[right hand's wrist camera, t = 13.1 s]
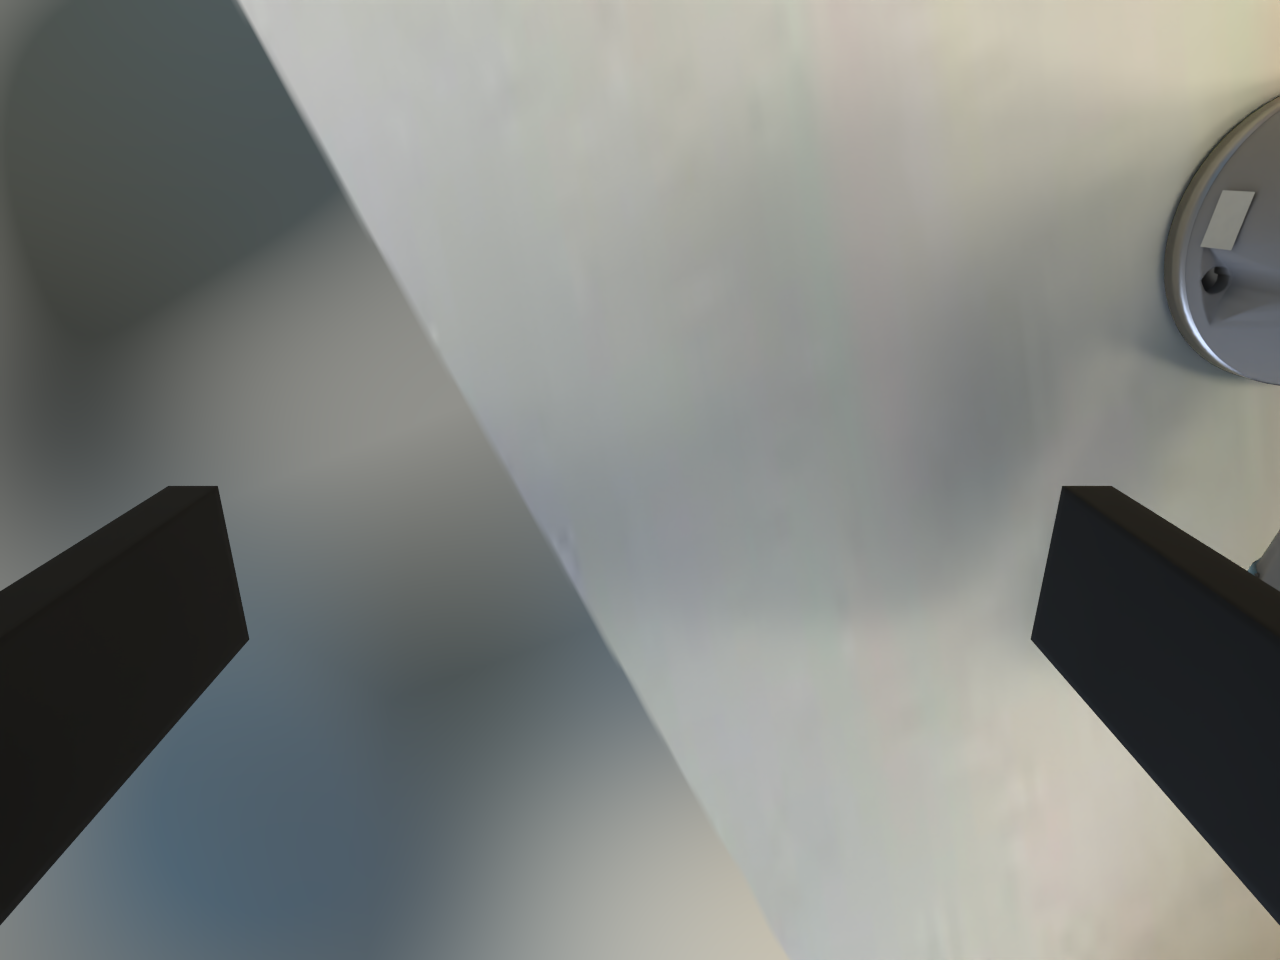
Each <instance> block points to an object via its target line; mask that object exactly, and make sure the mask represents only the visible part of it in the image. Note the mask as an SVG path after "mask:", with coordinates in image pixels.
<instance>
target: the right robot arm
mask: <svg viewBox="0 0 1280 960" xmlns="http://www.w3.org/2000/svg"><path fill="white" fill-rule="evenodd" d="M1164 282H1165V290H1166V297H1167V301H1168V305H1169V309H1170V311H1171V314H1172V317H1173V319H1174V321H1175V323H1176V325H1177V328H1178V330H1179V331H1180V333H1181V334H1182V336H1183V337H1184V339H1185V340H1186V341H1187V342H1188V344H1189V345H1190V346H1191V347H1192V348H1193V349H1194V350H1195V351H1196V352H1197V353H1198V354H1199V355H1200V356H1201V357H1203V358H1204V359H1206V360H1207V361H1208V362H1210V363H1211V364H1213V365H1215V366H1217V367H1219V368H1221V369H1223V370H1225V371H1228V372H1230V373H1233V374H1236V375H1239V376H1242V377H1246V378H1249V379H1252V380H1255V381H1259V382H1263V383H1267V384H1273V385H1280V96H1279V97H1278V98H1276V99H1274V100H1272V101H1271V102H1269V103H1267V104H1266V105H1264V106H1263V107H1261V108H1260V109H1258V110H1257V111H1255V112H1254V113H1252V114H1251V115H1250V116H1249V117H1247V118H1246V119H1245V120H1244V121H1242V122H1241V123H1240V124H1239V125H1237V126H1236V127H1235V128H1234V129H1233V130H1232V131H1231V132H1230V133H1229V134H1228V135H1227V136H1226V137H1225V138H1224V139H1223V140H1222V141H1221V142H1220V143H1219V144H1218V145H1217V146H1216V148H1215V149H1214V150H1213V151H1212V152H1211V153H1210V155H1209V156H1208V157H1207V159H1206V160H1205V161H1204V162H1203V164H1202V165H1201V167H1200V168H1199V170H1198V171H1197V173H1196V174H1195V176H1194V177H1193V179H1192V180H1191V182H1190V184H1189V186H1188V187H1187V189H1186V191H1185V193H1184V195H1183V197H1182V199H1181V201H1180V204H1179V206H1178V208H1177V211H1176V213H1175V216H1174V219H1173V222H1172V225H1171V228H1170V232H1169V236H1168V240H1167V246H1166V252H1165V263H1164ZM248 640H249V636H248V631H247V626H246V621H245V616H244V611H243V607H242V602H241V597H240V592H239V587H238V582H237V577H236V573H235V568H234V563H233V558H232V553H231V548H230V544H229V539H228V534H227V529H226V524H225V519H224V514H223V509H222V505H221V500H220V495H219V490H218V486H168V487H166V488H165V489H163V490H161V491H160V492H158V493H157V494H155V495H153V496H152V497H150V498H149V499H147V500H145V501H144V502H142V503H141V504H139V505H137V506H136V507H134V508H133V509H131V510H130V511H128V512H126V513H125V514H123V515H121V516H120V517H118V518H117V519H115V520H113V521H112V522H110V523H109V524H107V525H105V526H104V527H102V528H101V529H99V530H97V531H96V532H94V533H93V534H91V535H90V536H88V537H86V538H85V539H83V540H82V541H80V542H78V543H77V544H75V545H74V546H72V547H70V548H69V549H67V550H66V551H64V552H62V553H61V554H59V555H58V556H56V557H54V558H53V559H51V560H50V561H48V562H46V563H45V564H43V565H42V566H40V567H38V568H37V569H35V570H34V571H32V572H31V573H29V574H27V575H26V576H24V577H23V578H21V579H19V580H18V581H16V582H14V583H13V584H11V585H10V586H8V587H7V588H5V589H3V590H2V591H0V925H1V924H2V923H3V922H4V920H5V919H6V918H7V917H8V916H9V915H10V913H11V912H12V911H13V910H14V909H15V908H16V906H17V905H18V904H19V903H20V902H21V901H22V900H23V898H24V897H25V896H26V895H27V894H28V893H29V892H30V890H31V889H32V888H33V887H34V886H35V885H36V884H37V882H38V881H39V880H40V879H41V878H42V877H43V876H44V874H45V873H46V872H47V871H48V870H49V869H50V868H51V866H52V865H53V864H54V863H55V862H56V861H57V859H58V858H59V857H60V856H61V855H62V854H63V853H64V851H65V850H66V849H67V848H68V847H69V846H70V845H71V843H72V842H73V841H74V840H75V839H76V838H77V837H78V835H79V834H80V833H81V832H82V831H83V830H84V828H85V827H86V826H87V825H88V824H89V823H90V822H91V820H92V819H93V818H94V817H95V816H96V815H97V814H98V812H99V811H100V810H101V809H102V808H103V807H104V806H105V804H106V803H107V802H108V801H109V800H110V799H111V797H112V796H113V795H114V794H115V793H116V792H117V791H118V789H119V788H120V787H121V786H122V785H123V784H124V783H125V781H126V780H127V779H128V778H129V777H130V776H131V774H132V773H133V772H134V771H135V770H136V769H137V768H138V766H139V765H140V764H141V763H142V762H143V761H144V760H145V758H146V757H147V756H148V755H149V754H150V753H151V751H152V750H153V749H154V748H155V747H156V746H157V745H158V744H159V742H160V741H161V740H162V739H163V738H164V737H165V735H166V734H167V733H168V732H169V731H170V730H171V729H172V727H173V726H174V725H175V724H176V723H177V722H178V720H179V719H180V718H181V717H182V716H183V715H184V714H185V713H186V711H187V710H188V709H189V708H190V707H191V706H192V704H193V703H194V702H195V701H196V700H197V699H198V698H199V696H200V695H201V694H202V693H203V692H204V691H205V690H206V688H207V687H208V686H209V685H210V684H211V683H212V682H213V680H214V679H215V678H216V677H217V676H218V675H219V673H220V672H221V671H222V670H223V669H224V668H225V667H226V665H227V664H228V663H229V662H230V661H231V660H232V659H233V657H234V656H235V655H236V654H237V653H238V652H239V651H240V649H241V648H242V647H243V646H244V645H245V644H246V642H247V641H248ZM1031 640H1032V641H1033V642H1034V644H1035V645H1036V646H1037V647H1038V648H1039V649H1040V651H1041V652H1042V653H1043V654H1044V655H1045V656H1046V657H1047V659H1048V660H1049V661H1050V662H1051V663H1052V664H1053V665H1054V667H1055V668H1056V669H1057V670H1058V671H1059V672H1060V673H1061V675H1062V676H1063V677H1064V678H1065V679H1066V680H1067V682H1068V683H1069V684H1070V685H1071V686H1072V687H1073V688H1074V690H1075V691H1076V692H1077V693H1078V694H1079V695H1080V696H1081V698H1082V699H1083V700H1084V701H1085V702H1086V703H1087V704H1088V706H1089V707H1090V708H1091V709H1092V710H1093V711H1094V713H1095V714H1096V715H1097V716H1098V717H1099V718H1100V719H1101V721H1102V722H1103V723H1104V724H1105V725H1106V726H1107V727H1108V729H1109V730H1110V731H1111V732H1112V733H1113V734H1114V735H1115V737H1116V738H1117V739H1118V740H1119V741H1120V742H1121V744H1122V745H1123V746H1124V747H1125V748H1126V749H1127V750H1128V752H1129V753H1130V754H1131V755H1132V756H1133V757H1134V758H1135V760H1136V761H1137V762H1138V763H1139V764H1140V765H1141V766H1142V768H1143V769H1144V770H1145V771H1146V772H1147V773H1148V775H1149V776H1150V777H1151V778H1152V779H1153V780H1154V781H1155V783H1156V784H1157V785H1158V786H1159V787H1160V788H1161V789H1162V791H1163V792H1164V793H1165V794H1166V795H1167V796H1168V797H1169V799H1170V800H1171V801H1172V802H1173V803H1174V804H1175V806H1176V807H1177V808H1178V809H1179V810H1180V811H1181V812H1182V814H1183V815H1184V816H1185V817H1186V818H1187V819H1188V820H1189V822H1190V823H1191V824H1192V825H1193V826H1194V827H1195V828H1196V830H1197V831H1198V832H1199V833H1200V834H1201V835H1202V837H1203V838H1204V839H1205V840H1206V841H1207V842H1208V843H1209V845H1210V846H1211V847H1212V848H1213V849H1214V850H1215V851H1216V853H1217V854H1218V855H1219V856H1220V857H1221V858H1222V859H1223V861H1224V862H1225V863H1226V864H1227V865H1228V866H1229V868H1230V869H1231V870H1232V871H1233V872H1234V873H1235V874H1236V876H1237V877H1238V878H1239V879H1240V880H1241V881H1242V882H1243V884H1244V885H1245V886H1246V887H1247V888H1248V889H1249V891H1250V892H1251V893H1252V894H1253V895H1254V896H1255V897H1256V899H1257V900H1258V901H1259V902H1260V903H1261V904H1262V905H1263V907H1264V908H1265V909H1266V910H1267V911H1268V912H1269V913H1270V915H1271V916H1272V917H1273V918H1274V919H1275V920H1276V922H1277V923H1278V924H1279V925H1280V530H1279V532H1278V533H1277V535H1276V536H1275V538H1274V539H1273V541H1272V542H1271V544H1270V545H1269V547H1268V548H1267V550H1266V551H1265V553H1264V554H1263V556H1262V557H1261V558H1260V559H1258V560H1257V561H1255V562H1253V563H1252V565H1251V566H1250V567H1249V569H1248V571H1246V570H1245V569H1243V568H1242V567H1240V566H1238V565H1237V564H1235V563H1234V562H1232V561H1230V560H1229V559H1227V558H1226V557H1224V556H1222V555H1221V554H1219V553H1218V552H1216V551H1214V550H1213V549H1211V548H1210V547H1208V546H1206V545H1205V544H1203V543H1202V542H1200V541H1198V540H1197V539H1195V538H1194V537H1192V536H1190V535H1189V534H1187V533H1186V532H1184V531H1183V530H1181V529H1179V528H1178V527H1176V526H1175V525H1173V524H1171V523H1170V522H1168V521H1167V520H1165V519H1163V518H1162V517H1160V516H1159V515H1157V514H1155V513H1154V512H1152V511H1151V510H1149V509H1147V508H1146V507H1144V506H1143V505H1141V504H1139V503H1138V502H1136V501H1135V500H1133V499H1131V498H1130V497H1128V496H1127V495H1125V494H1123V493H1122V492H1120V491H1119V490H1117V489H1115V488H1114V487H1112V486H1062V490H1061V495H1060V500H1059V505H1058V509H1057V514H1056V519H1055V524H1054V529H1053V534H1052V539H1051V543H1050V548H1049V553H1048V558H1047V563H1046V568H1045V573H1044V577H1043V582H1042V587H1041V592H1040V597H1039V602H1038V607H1037V611H1036V616H1035V621H1034V626H1033V631H1032V636H1031Z"/></svg>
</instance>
